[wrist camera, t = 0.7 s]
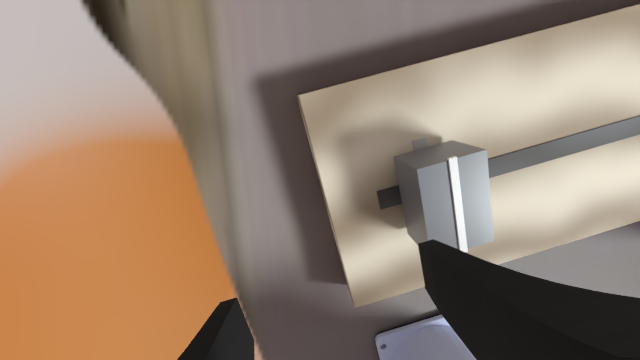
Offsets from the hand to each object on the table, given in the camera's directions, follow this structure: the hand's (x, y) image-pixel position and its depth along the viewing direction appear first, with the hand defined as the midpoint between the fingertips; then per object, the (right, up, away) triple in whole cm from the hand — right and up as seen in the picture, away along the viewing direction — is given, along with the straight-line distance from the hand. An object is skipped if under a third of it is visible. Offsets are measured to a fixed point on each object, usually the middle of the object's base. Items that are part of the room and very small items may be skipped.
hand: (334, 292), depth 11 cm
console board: (+12, +6, +10) cm, 17 cm away
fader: (+6, +4, +7) cm, 10 cm away
